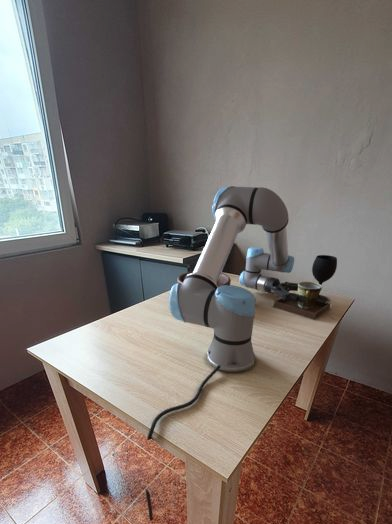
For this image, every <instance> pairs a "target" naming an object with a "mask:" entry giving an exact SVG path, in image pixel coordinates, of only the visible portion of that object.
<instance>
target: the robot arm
mask: <svg viewBox="0 0 392 524" xmlns="http://www.w3.org/2000/svg"><path fill="white" fill-rule="evenodd" d="M211 210H212V217H213V220H214V225H213V228H212V229H211V232H210V234H209V236H208V238H207V241H206V243H205V245H204V247H203V249H202V251H201V253H200V256H199V258H198V260H197V262H196V265H195V267H194V269H193V271H192V272H193V273H191V274H188V275H187V276H186V277H185V280H184V282H183V283H182V284H181V283H178V282H177V283H174V284H173V286H172V287H171V289H170V293H169V297H168V298H169V299H168V305H169V306H168V307H169V311H170V314H171V316H172V317H173V318H174V319H175V320H176V321H180V322H183V323H186V324H187V323H188V324H193V325H197V326H201V327H206V328H211V329H213V338H212V340H211V342H210V345H209V348H208V350H207V353H206V355H207V357H206V361H207V362H208V364H209V365H210V366H211V367H212V368H213V370H212V371H211V372H210V373H209V374H208V375H207V376H206V377H205V378H204V380H203V381H202V382H201V384H200V385H199V387H198V390H197V391H196V394H195V396H194V397H193V398H192V399H190V400H189V401H187V402H185V403H183V404H180V405H176V406H172V407H169V408H167V409H164V410H163V411H161V412H160V413H158V414H157V415H156V416H155V418H154V419H153V421H152V423H151V425H150V428H149V431H148V434H147V437H146V440H147V441H151V439H152V437H153V435H154V431H155V428H156V425H157V424H158V423H157V422H158V421H159V420H160V419H161V418H162V417H164V416H165V415H166V414H169V413H172V412H175V411H179V410H182V409H186V408H188V407H189V406H191V405H193V404H194V403H196V401H197V400H199V398H200V396H201V393H202V391H203V389H204V387H205V385H206V384H207V383H208V381H209V380H210V379H212V377H213V376H214V375H215V374H216V373H217V372H218V371H221V372H225V373H242V372H245V371H248V370H249V369H251V368H252V367H253V366H254V364H255V359H256V356H255V351H254V348H253V342H252V336H253V329H254V320H255V314H256V296H255V295H254V294H253V293H252V292H251V291H250V290H248V289H253V290H257V291H260V292H261V293H267V294H270V295H274V296H276V297H278V298H279V299H280V298H282V299H284V300H287V301H290V299H291V300H295V301H299V302H302V303H305V301H306V296H302V295H298V293H294V292H298V283H299V282H290V281H284V282H281V281H280V279H279V278H278V277H273V276H269V275H266V274H265V275H264V274H261V273H262V270H263V271H272V272H276V273H277V272H278V273H288V274H290V273H291V272H292V271H293V268H294V266H295V265H294V264H295V257H294V256H292V255H289V246H288V245H289V244H288V235H287V234H288V232H287V231H288V230H287V226H288V225H289V212H288V208H287V206H286V204H285V202H284V201H283V199H282V198H281V197H280V196H279V195H278V194H277V193H276V192H274V191H273V190H272V189H270V188H267V187H262V186H261V187H257V186H256V187H252V186H236V185H235V186H234V185H230V186H223V187H221V188H220V189H218V191H217V192H216V194H215V196H214V199H213V204H212V209H211ZM247 225H256V226H261V228H262V230H263V231H264V232H265V234H266V240H267V244H268V249H269V253H267V252H265V250H264V248H263V247H259V246H251V247H249V248H248V249H247V253H246V257H245V258H246V259H245V270H243V271H242V272H241V273H240V275H239V278H238V281H239V284H240V285H241V286H238V285H233V284H230V286H228V285H223V286H219V287H218V286H217V282H218V279H219V277H220V275H221V273H222V272H223V271H224V270H223V269H224V267H225V266H226V262H227V260H228V258H229V256H230V254H231V251H232V248H233V246H234V244H235V241H236V239H237V236H238V234H240V233H242V232H243V231H244V230H245V229H246V226H247ZM244 287H246V288H248V289H246V288H244ZM291 291H293V292H291ZM144 490H145V496H146V502H147V510H148V517H149V521H150V522H152V521H153V520H154V514H153V507H152V500H151V492H149V490H148V489H147V488H145V489H144Z"/></svg>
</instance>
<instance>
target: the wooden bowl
mask: <svg viewBox="0 0 392 524" xmlns="http://www.w3.org/2000/svg"><path fill="white" fill-rule="evenodd" d="M191 273H193V271H187V272H184V273H181V274H179V275H178V277H177V279H176V281H177V283H181V284H182V283H183V282H184V280H185V277H186V276H187V275H188V274H191ZM231 283H232V280H231V278H230V276H229V275H227V274H225V273H222V272H221V275H220V277H219V279H218V282H217V286H218V287H219V286H223V285H228V286H230V285H231Z"/></svg>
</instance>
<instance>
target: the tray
mask: <svg viewBox="0 0 392 524" xmlns="http://www.w3.org/2000/svg"><path fill="white" fill-rule="evenodd" d="M273 308H276V309H279V310H282V311H285V312H289V313H291V314H295V315H298V316H301V317H304V318H307V319H311V320H314V321H315V320H317V319H318V318H319V317H321V316H322V315H324V314H325V313H327V312H328V311H330V309H331V303H330V302H328V301H327V302H323V301H319V300H316V301H315V304H314V306H313V308H312V309H303V308H300V307H299V306H298V301H295V300H291V299H290V301H287V300H284V299H282V298H280V297H279V298H278V299H275V301H274V302H273Z"/></svg>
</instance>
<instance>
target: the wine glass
mask: <svg viewBox="0 0 392 524" xmlns="http://www.w3.org/2000/svg"><path fill="white" fill-rule="evenodd" d="M337 266H338V258H337V257H336V256H334V255H329V254H328V255H327V254H320V255H316V257H315V258H314V261H313V263H312V267H311V273H312V276H313V278H314V279H315V280H316V281H317V283H318V284H320V285H323V283H325V282H327V281H329V280H330V279H332V278H333V277H334V275H335V274H336V271H337V268H338V267H337ZM316 300H319V301H323V302H327V303H328V301H329V298H328V297H327V296H326V295H322V294H319V295H318V297H317V299H316Z"/></svg>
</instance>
